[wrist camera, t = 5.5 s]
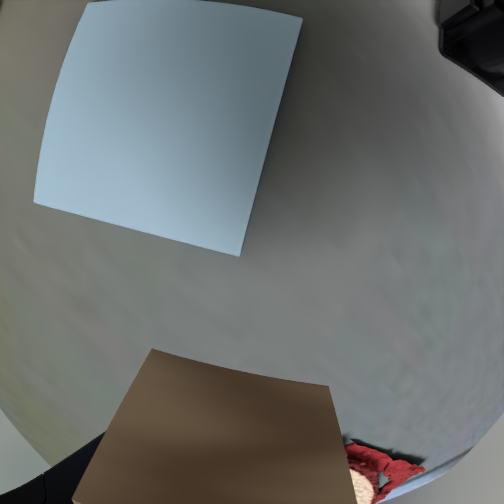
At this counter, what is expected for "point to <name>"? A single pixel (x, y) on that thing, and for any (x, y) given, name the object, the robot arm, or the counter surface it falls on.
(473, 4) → the robot arm
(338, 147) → the counter surface
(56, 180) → the rubber mat
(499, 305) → the counter surface
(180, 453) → the tan cube
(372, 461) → the plate with food
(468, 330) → the counter surface
